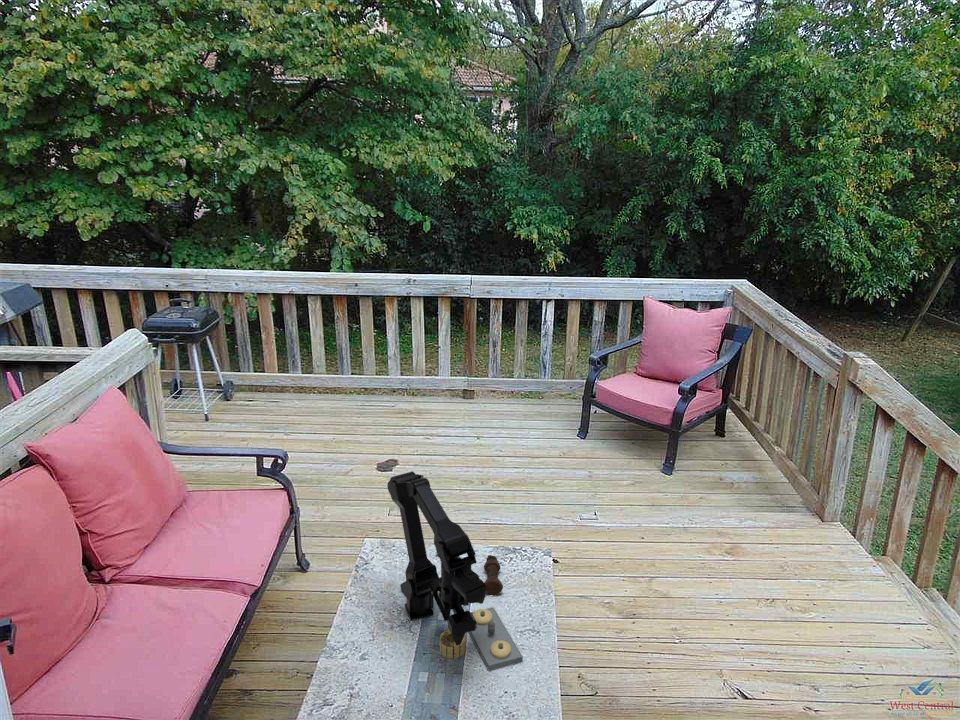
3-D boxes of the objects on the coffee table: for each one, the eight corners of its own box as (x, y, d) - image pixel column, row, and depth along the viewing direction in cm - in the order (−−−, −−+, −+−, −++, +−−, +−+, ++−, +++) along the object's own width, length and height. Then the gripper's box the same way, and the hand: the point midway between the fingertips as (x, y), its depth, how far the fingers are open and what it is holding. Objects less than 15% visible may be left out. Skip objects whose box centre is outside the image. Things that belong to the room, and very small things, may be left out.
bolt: (494, 569, 200) (495, 600, 186) (479, 562, 200) (479, 592, 185) (503, 555, 199) (505, 584, 184) (489, 547, 198) (490, 576, 184)
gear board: (488, 670, 159) (489, 652, 157) (462, 619, 176) (462, 601, 174) (522, 661, 162) (523, 643, 160) (493, 611, 179) (493, 594, 177)
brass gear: (444, 661, 161) (444, 649, 160) (436, 643, 167) (436, 632, 166) (468, 654, 163) (468, 643, 162) (460, 637, 169) (460, 626, 168)
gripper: (497, 595, 153) (496, 650, 158) (470, 551, 170) (470, 602, 175) (452, 606, 150) (452, 661, 154) (429, 560, 166) (430, 611, 171)
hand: (452, 632), depth 164 cm, fingers open, 9 cm apart
